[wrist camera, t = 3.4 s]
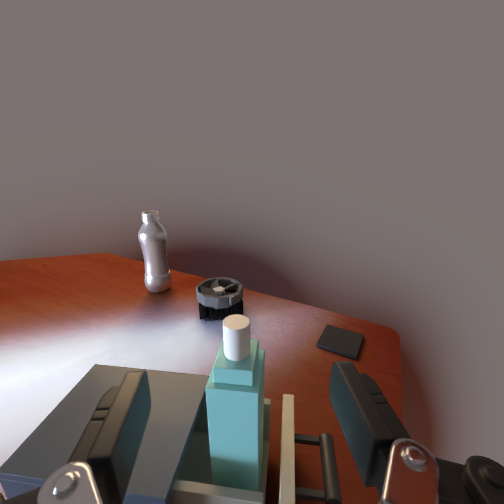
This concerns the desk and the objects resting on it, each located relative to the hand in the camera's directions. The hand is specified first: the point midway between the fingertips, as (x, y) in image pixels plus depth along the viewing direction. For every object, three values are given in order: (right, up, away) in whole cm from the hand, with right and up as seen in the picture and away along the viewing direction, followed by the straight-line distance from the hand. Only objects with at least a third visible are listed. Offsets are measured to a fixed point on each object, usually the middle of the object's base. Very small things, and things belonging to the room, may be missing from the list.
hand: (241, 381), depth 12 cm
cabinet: (-13, -19, +19) cm, 29 cm away
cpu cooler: (-7, -7, +51) cm, 52 cm away
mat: (+17, -11, +40) cm, 45 cm away
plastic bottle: (-23, -4, +60) cm, 65 cm away
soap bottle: (-1, -17, +17) cm, 24 cm away
